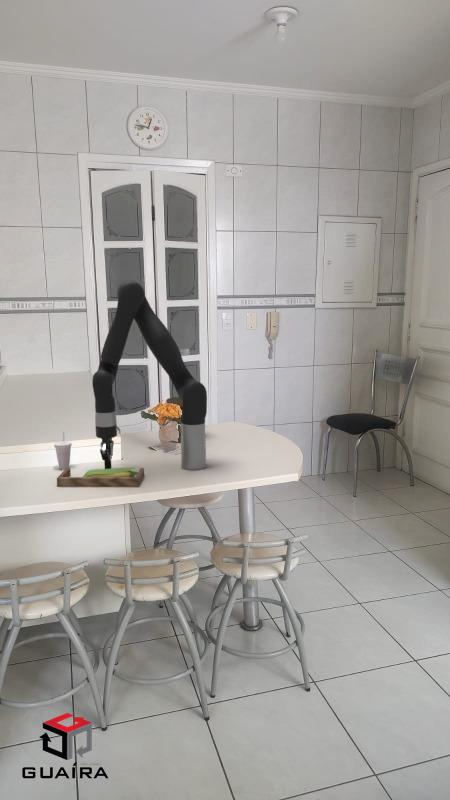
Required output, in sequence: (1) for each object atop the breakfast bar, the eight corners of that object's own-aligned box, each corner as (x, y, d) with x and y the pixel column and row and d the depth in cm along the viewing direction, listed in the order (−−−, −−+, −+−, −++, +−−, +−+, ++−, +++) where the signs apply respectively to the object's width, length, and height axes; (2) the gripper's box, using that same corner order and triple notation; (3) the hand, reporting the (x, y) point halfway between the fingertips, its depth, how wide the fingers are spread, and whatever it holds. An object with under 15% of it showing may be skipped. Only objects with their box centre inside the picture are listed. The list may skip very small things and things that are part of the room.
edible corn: (82, 470, 196) (83, 470, 192) (138, 466, 202) (141, 466, 198) (82, 484, 195) (83, 485, 191) (139, 480, 202) (141, 480, 198)
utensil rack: (144, 476, 202) (143, 468, 201) (138, 486, 191) (138, 478, 190) (67, 475, 202) (66, 467, 202) (57, 486, 191) (56, 478, 191)
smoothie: (76, 466, 213) (74, 431, 211) (65, 471, 208) (63, 434, 205) (63, 464, 216) (61, 429, 214) (51, 469, 210) (49, 433, 208)
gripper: (112, 427, 195) (115, 475, 198) (119, 419, 208) (121, 464, 211) (91, 428, 195) (93, 475, 198) (99, 419, 208) (101, 464, 211)
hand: (108, 469), depth 205 cm, fingers closed
